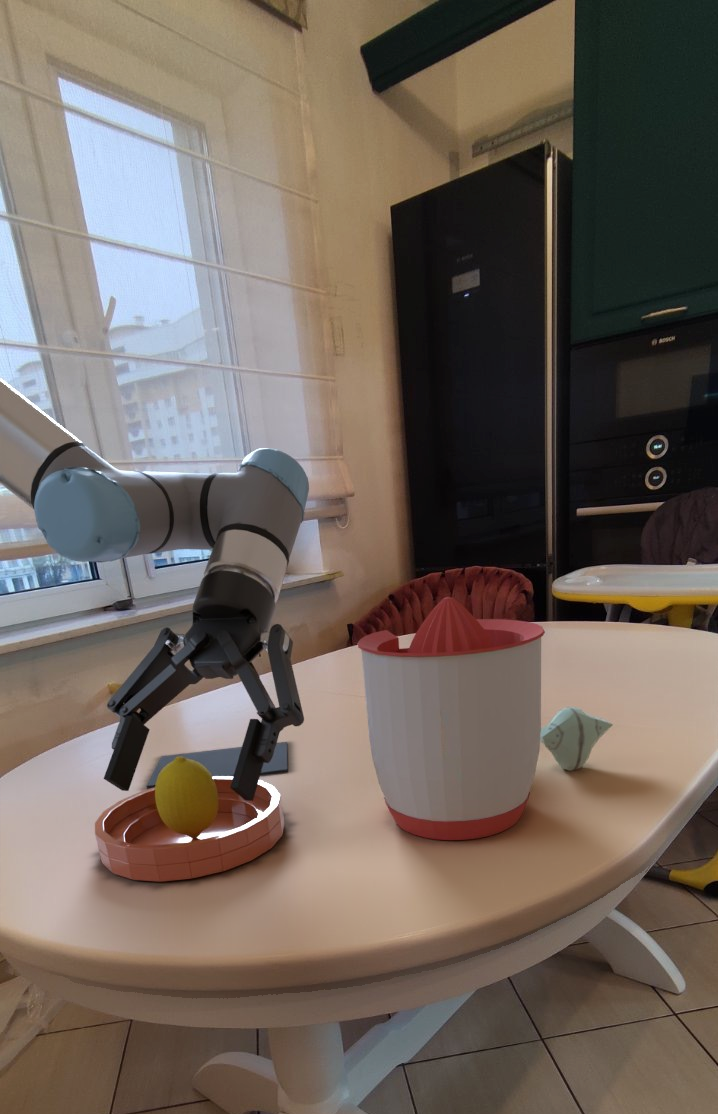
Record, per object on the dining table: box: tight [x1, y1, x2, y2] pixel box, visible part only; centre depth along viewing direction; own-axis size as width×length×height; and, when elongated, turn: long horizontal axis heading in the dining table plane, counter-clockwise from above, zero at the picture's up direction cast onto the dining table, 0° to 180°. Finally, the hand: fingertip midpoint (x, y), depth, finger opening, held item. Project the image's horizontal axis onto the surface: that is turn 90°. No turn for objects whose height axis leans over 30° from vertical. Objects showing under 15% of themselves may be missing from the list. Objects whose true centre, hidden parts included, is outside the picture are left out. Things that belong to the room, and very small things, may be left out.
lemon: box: [155, 756, 219, 839], centre depth 66 cm, size 6×6×8 cm
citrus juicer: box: [357, 596, 546, 841], centre depth 64 cm, size 16×17×20 cm
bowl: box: [94, 776, 285, 882], centre depth 67 cm, size 17×17×4 cm
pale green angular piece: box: [540, 706, 614, 771], centre depth 75 cm, size 8×4×7 cm, turn 105°
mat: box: [146, 741, 289, 790], centre depth 87 cm, size 16×11×1 cm
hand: (176, 790), depth 64 cm, fingers open, 13 cm apart
